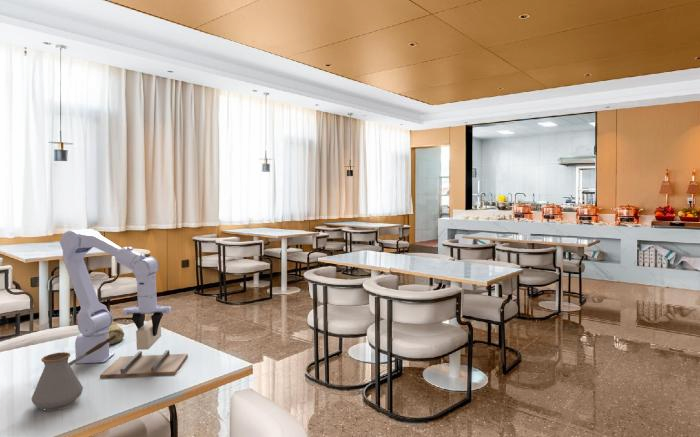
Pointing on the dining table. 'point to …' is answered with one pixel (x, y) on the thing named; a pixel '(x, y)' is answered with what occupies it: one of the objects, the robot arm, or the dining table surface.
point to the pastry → (115, 333)
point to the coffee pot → (60, 380)
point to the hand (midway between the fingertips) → (148, 335)
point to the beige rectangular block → (147, 336)
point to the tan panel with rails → (145, 365)
